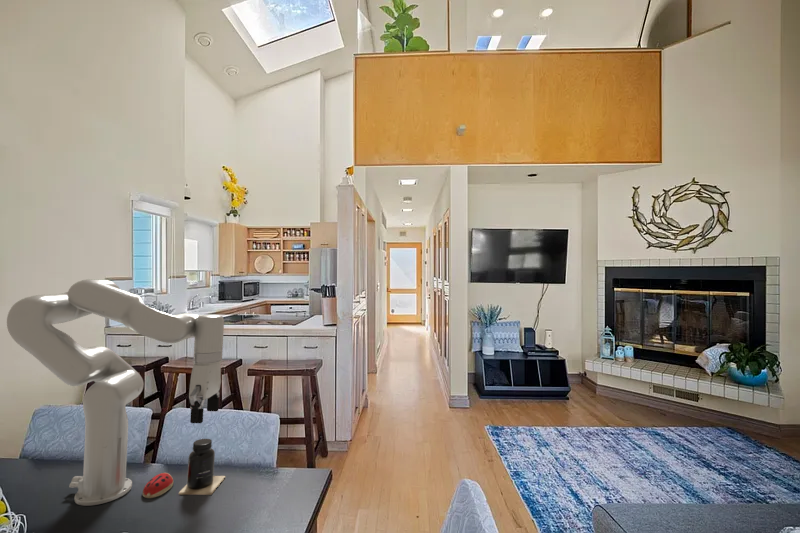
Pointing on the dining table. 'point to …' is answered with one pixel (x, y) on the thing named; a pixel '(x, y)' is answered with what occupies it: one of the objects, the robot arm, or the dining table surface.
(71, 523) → the dining table surface
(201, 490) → the cork coaster
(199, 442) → the supplement bottle
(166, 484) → the ladybug figurine
